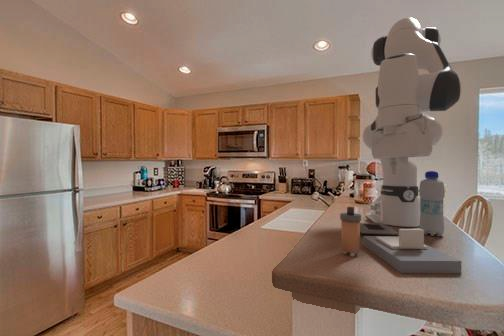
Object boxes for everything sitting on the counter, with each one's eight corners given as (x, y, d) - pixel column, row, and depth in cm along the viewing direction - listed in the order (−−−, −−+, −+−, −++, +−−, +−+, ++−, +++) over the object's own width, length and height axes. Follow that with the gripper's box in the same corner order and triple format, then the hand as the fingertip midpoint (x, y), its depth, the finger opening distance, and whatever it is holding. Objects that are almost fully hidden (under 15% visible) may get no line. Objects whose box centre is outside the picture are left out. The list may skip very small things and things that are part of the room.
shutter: (375, 238, 66) (375, 221, 66) (406, 238, 65) (406, 221, 65) (394, 250, 57) (394, 229, 57) (430, 250, 56) (430, 230, 56)
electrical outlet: (399, 240, 74) (399, 232, 74) (361, 239, 76) (361, 231, 76) (385, 230, 87) (385, 223, 87) (352, 228, 89) (352, 221, 89)
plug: (337, 250, 64) (337, 205, 64) (356, 250, 64) (356, 205, 64) (344, 257, 59) (344, 208, 59) (364, 257, 59) (364, 208, 59)
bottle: (446, 238, 74) (446, 171, 74) (419, 235, 78) (419, 171, 78) (443, 233, 80) (443, 170, 80) (418, 230, 84) (418, 170, 84)
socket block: (363, 245, 69) (363, 236, 69) (407, 245, 68) (407, 236, 68) (400, 273, 51) (400, 260, 51) (461, 273, 50) (461, 261, 50)
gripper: (441, 111, 52) (441, 178, 52) (389, 127, 72) (389, 175, 72) (410, 111, 52) (410, 178, 52) (366, 127, 72) (366, 175, 72)
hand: (397, 176), depth 62 cm, fingers closed
